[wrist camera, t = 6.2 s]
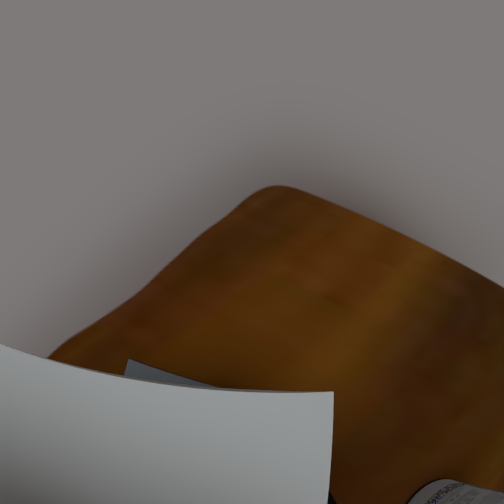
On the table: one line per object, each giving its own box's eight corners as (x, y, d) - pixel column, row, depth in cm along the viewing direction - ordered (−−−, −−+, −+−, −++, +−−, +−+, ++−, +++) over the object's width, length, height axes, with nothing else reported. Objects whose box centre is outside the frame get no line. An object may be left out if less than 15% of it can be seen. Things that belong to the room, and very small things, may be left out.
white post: (256, 476, 12) (301, 637, 1) (161, 467, 12) (20, 576, 1) (260, 389, 14) (333, 391, 3) (166, 382, 14) (-4, 342, 3)
